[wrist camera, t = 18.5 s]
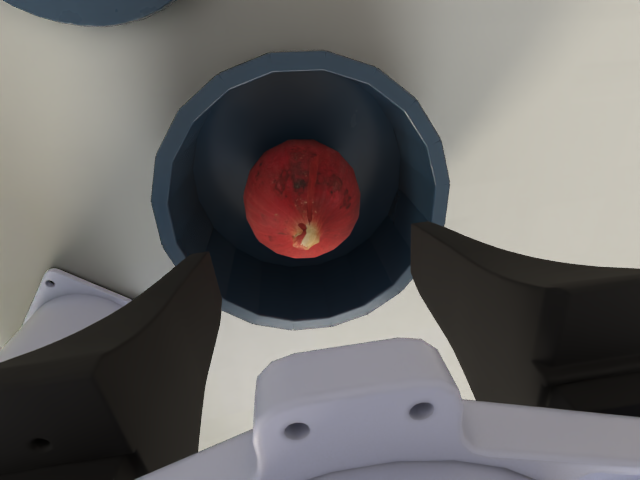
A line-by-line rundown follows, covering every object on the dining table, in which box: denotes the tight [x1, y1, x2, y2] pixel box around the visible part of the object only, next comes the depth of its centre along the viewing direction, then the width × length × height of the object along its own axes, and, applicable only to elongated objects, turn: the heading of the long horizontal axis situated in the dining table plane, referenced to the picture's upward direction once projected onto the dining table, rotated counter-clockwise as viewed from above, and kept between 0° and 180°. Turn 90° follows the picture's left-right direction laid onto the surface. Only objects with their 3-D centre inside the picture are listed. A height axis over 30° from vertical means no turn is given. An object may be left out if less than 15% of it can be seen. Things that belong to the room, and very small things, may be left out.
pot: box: [151, 50, 450, 330], centre depth 20 cm, size 13×13×6 cm
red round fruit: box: [243, 139, 360, 258], centre depth 19 cm, size 6×6×8 cm
